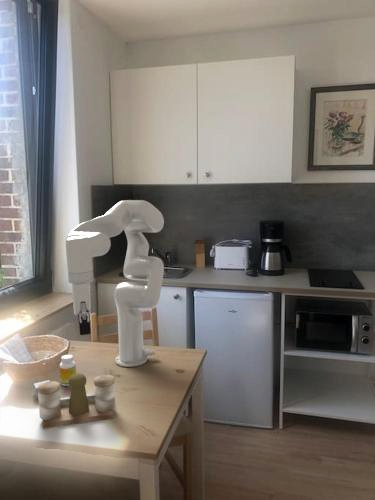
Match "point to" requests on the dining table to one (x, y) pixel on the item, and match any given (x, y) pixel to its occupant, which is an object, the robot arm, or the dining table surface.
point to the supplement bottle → (67, 369)
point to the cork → (78, 395)
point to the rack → (58, 408)
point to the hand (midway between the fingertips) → (84, 328)
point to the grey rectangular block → (37, 388)
